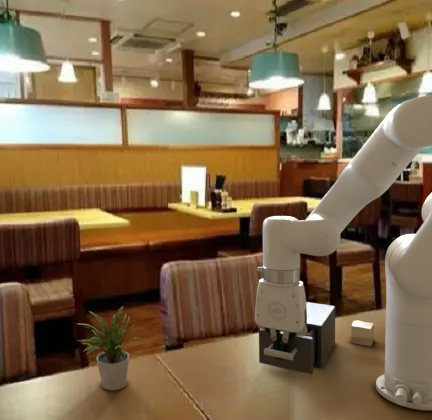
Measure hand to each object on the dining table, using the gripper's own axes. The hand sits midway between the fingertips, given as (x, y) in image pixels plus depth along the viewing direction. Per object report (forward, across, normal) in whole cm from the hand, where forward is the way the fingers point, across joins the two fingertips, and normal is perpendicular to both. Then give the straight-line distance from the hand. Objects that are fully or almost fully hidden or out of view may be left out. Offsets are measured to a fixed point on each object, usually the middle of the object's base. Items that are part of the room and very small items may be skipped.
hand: (281, 357), depth 96 cm
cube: (+4, +12, +27) cm, 30 cm away
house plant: (+4, -31, -20) cm, 37 cm away
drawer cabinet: (+4, 0, +15) cm, 16 cm away
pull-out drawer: (+3, 0, +6) cm, 7 cm away
